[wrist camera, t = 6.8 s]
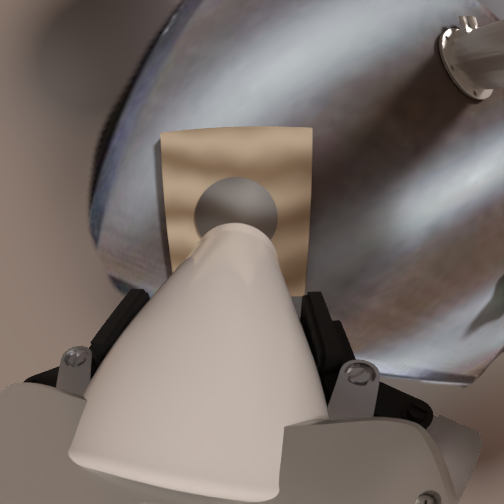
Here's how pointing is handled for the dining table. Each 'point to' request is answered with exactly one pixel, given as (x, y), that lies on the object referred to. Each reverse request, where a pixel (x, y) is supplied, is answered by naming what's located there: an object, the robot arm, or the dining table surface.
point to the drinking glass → (205, 377)
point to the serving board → (240, 189)
